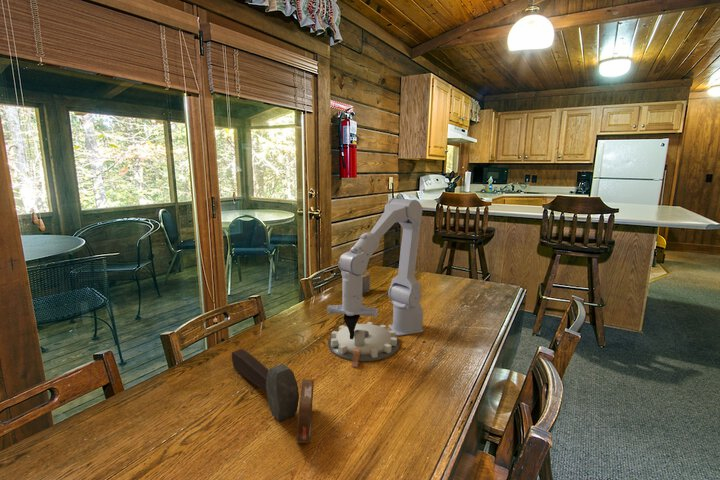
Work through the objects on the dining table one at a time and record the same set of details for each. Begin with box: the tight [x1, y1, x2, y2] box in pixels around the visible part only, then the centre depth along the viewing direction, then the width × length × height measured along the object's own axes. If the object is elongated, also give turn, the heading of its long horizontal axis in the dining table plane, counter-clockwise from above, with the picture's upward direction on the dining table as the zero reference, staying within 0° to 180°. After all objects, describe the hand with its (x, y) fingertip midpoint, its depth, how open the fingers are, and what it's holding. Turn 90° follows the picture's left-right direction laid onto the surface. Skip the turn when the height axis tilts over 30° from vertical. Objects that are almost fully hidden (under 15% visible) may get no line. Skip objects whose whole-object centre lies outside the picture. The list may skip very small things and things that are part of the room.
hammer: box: [231, 348, 300, 423], centre depth 91 cm, size 5×11×30 cm
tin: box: [296, 378, 315, 444], centre depth 78 cm, size 15×3×8 cm, turn 5°
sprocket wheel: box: [330, 321, 398, 358], centre depth 114 cm, size 20×20×6 cm
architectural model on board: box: [362, 270, 371, 294], centre depth 159 cm, size 11×3×10 cm, turn 132°
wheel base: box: [327, 335, 400, 368], centre depth 114 cm, size 22×24×2 cm
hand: (352, 337), depth 109 cm, fingers closed
